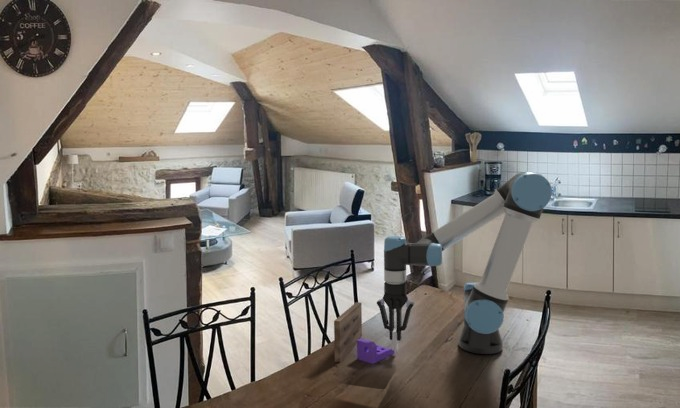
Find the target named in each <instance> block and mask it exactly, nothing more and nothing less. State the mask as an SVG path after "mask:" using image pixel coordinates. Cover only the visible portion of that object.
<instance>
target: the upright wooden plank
mask: <svg viewBox="0 0 680 408" xmlns="http://www.w3.org/2000/svg"><path fill="white" fill-rule="evenodd" d="M362 315H363V314H362V302H357V301H356V302H354V304H352V305H351V306H350V307H349V308H348V309H346V310H345V311H344V312H342V314H340V315H339V316H338V317H337V318H335V319H334V320H333V324H334V325H333V333H334V338H333V339H334V341H333V342H334V343H333V344H334V362H335V363H341V362H342V361H343V360H344V359H346V357H347V356H348V355H349V354H350V352H352V350H353V349H354V347H355V346H357V340H358V339H362V338H361V337H362V336H363V328H362V327H363V325H362V324H363V321H362V320H363V318H362Z"/></svg>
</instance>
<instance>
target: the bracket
mask: <svg viewBox="0 0 680 408" xmlns="http://www.w3.org/2000/svg"><path fill="white" fill-rule="evenodd" d="M392 355H395V351H394V350H392V348H389V347H385V346H382V345H377V344H376V343H375V342H374V341H371V340H367V339H365V338H360V339H358V340H357V344H356V358H357V360H359V361H362V362H365V363H369V364H372V365H374V364H376V363H378V362H380V361H382V360H385V359H387V358H388V357H390V356H392Z"/></svg>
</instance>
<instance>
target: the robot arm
mask: <svg viewBox="0 0 680 408" xmlns="http://www.w3.org/2000/svg"><path fill="white" fill-rule="evenodd" d="M552 191H553V190H552V186H551V183H550V182H549V180H548V179H547V178H546V177H545V176H543V174H540V173H538V172H534V171H525V172H524V171H522V172H519V173H517V174H515V175H513V176H512V177H511V178H509V179H508V180H507V181H506V182H505V183H504V184H502V185H500V186H499V187H497V188H496V189H494V193H493V194H492V195H490V196H488V197H487V198H485V199H484V200H482V201H481V202H479V203H477V204H475V205H474V206H473V207H471V208H469V209H468V210H466V211H464V212H462V213H461V214H460V215H458V216H457V217H455V218H453V219H452V220H450V221H449V222H447V223H445V224H444V225H442V226H441V227H438V228H437V229H435V230H434V231H433V232H431V233H429V234H428V235H426V236H423V237H421V238H419V239H418V240H417V242H415V243H414V242H408V241H407V238H406V236H399V235H392V236H390V235H389V236H386V238H385V239H384V243H383V244H384V245H383V247H384V248H383V268H384V269H383V270H384V271H383V275H384V276H383V280H384V281H385V282H384V285H383V290H384V291H383V296H382V298H381V299H378V300H377V301H376V305H377V306H378V308H379V312H380V316H381V320H382V324H383V327H384V328H383V329H385V330H388V331H389V340H390V341H392V345H391V346H392V347H391V349H392V350H394V352H395V351H398V350H399V341H401V339H402V332H403V331H405V330H406V329H407V327H408V324H409V319H410V316H411V312H412V311H411V310H412V309H413V308H414V307H413V306H415V303H414V302H413V301H410V300H409V298H408V296H407V282H406V281H407V266H424V267H439V266H442V263H443V251H446V249H448V248H449V247H452V246H453V245H455V244H456V243H458V242H459V241H461V240H463V239H465V238H466V237H468V236H469V235H471V234H473V233H474V232H477V231H478V230H480V229H481V228H483V227H485V226H486V225H487V224H490V223H492V222H493V221H494V220H496V219H498V218H499V217H501V216H503V215H504V216H503V217H504V218H503V220H502V223H501V226H500V227H499V231H498V233H497V236H496V238H495V240H494V243H493V246H492V249H491V252H490V254H489V258H488V260H487V263H486V266H485V268H484V271H483V273H482V276H481V279H480V281H479V282H466V283H465V284H463V325H462V328H461V331H460V335H459V338H458V346H459V347H460V349H462V350H463V351H466V352H469V353H473V354H474V353H475V354H482V355H491V354H496V353H500V352H501V351H502V350H503V348H504V346H503V345H504V343H503V339H502V337H501V333H500V330H499V329H500V328H501V326H502V325H503V322H504V311H505V309H506V307H507V304H508V302H509V299H510V297H509V295H508V294H507V290H508V288H509V285H510V282H511V280H512V277H513V276H514V275H513V274H514V272H515V270H516V267H517V264H518V262H519V259H520V257H521V254H522V251H523V248H524V245H525V244H526V241H527V239H528V235H529V233H530V231H531V227H532V225H533V223H534V222H538V221H539V220H540V219H541V216H542V214H543V212H544V208H545V207H546V206H547V205H548V204H549V203H550V202H551V198H552V196H553V195H552V194H553V193H552ZM405 304H406V305H405ZM385 305H386V306H387V308H388V315H387V311H386V306H385ZM404 306H405V307H406V309H405V314H404V318H403V322H402V311H403V307H404ZM395 314H396V318H395ZM395 319H396V328H395Z"/></svg>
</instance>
